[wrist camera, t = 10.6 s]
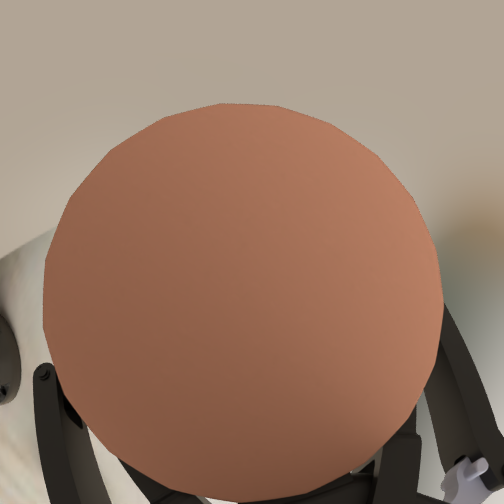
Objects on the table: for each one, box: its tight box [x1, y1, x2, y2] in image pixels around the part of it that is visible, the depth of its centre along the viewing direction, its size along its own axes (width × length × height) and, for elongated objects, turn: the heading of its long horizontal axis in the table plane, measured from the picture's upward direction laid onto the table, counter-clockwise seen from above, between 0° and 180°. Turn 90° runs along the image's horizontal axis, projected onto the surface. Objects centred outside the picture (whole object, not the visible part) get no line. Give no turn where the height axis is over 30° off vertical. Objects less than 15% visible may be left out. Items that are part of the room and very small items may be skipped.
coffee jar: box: [43, 104, 444, 503], centre depth 15 cm, size 11×11×18 cm
